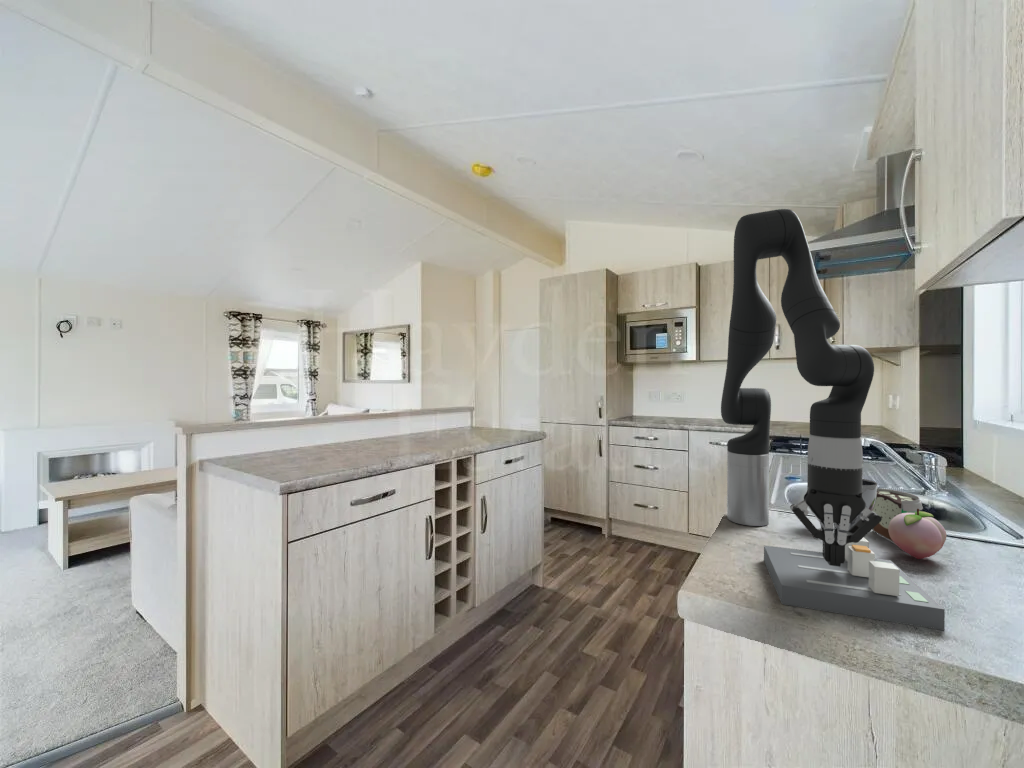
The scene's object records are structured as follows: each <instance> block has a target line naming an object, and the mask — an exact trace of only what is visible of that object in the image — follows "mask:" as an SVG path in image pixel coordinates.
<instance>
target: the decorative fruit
mask: <svg viewBox="0 0 1024 768" xmlns="http://www.w3.org/2000/svg"><path fill="white" fill-rule="evenodd" d="M934 517H935V516H934V515H933V514H932V513H929V512H926V511H922V510H919V509H917V512H915V513H902V514H899V515H897V516H895V517H894V518H893V519H892V520H891V521H890V523H889V526H888V532H889V535H890V537H891V539H892V541H893V542H894V543H895V544H894V543H893V544H894V545H896V546H897V547H898V548H899V549H901V550H902V552H904V553H906V554H908V555H910V556H911V557H913V558H915V559H916V560H922V559H926V558H930V557H932V556H934V555H935V554H937V553H938V552H939V551H940V550H942V549H943V546H944V545H945V543H946V541H947V531H946V529H945V528H944V527H945V526H943V525H942V524H941V523H940V522H939V521H938V520H937V519H936V518H934Z"/></svg>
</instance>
